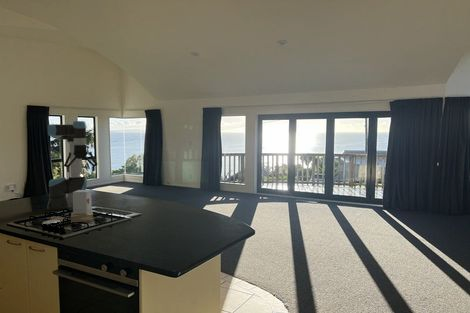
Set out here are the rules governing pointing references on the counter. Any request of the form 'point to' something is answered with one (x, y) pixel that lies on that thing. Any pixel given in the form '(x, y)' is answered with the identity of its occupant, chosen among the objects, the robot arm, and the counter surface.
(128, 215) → the counter surface
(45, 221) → the cream smooth round part
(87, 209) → the supplement box
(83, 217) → the maple block
